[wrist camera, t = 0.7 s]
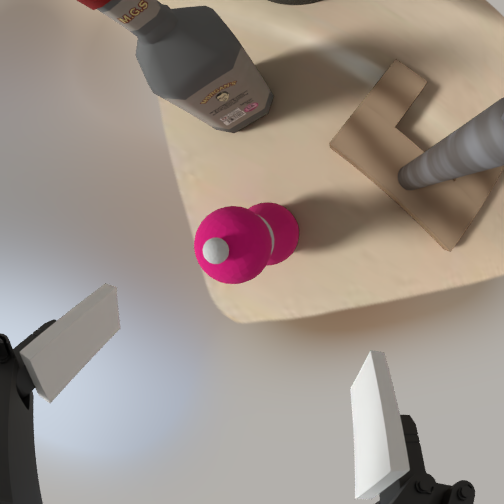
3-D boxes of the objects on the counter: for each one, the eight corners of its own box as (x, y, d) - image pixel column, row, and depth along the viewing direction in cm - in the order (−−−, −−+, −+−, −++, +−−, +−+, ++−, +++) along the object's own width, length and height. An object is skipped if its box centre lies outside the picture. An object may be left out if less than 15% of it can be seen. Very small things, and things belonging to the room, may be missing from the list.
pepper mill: (312, 220, 36) (286, 230, 17) (286, 268, 37) (233, 326, 19) (263, 193, 37) (188, 177, 18) (239, 241, 39) (150, 270, 20)
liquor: (282, 108, 35) (158, -60, 6) (224, 142, 37) (33, 54, 9) (251, 63, 35) (128, -81, 6) (199, 95, 38) (37, -2, 9)
